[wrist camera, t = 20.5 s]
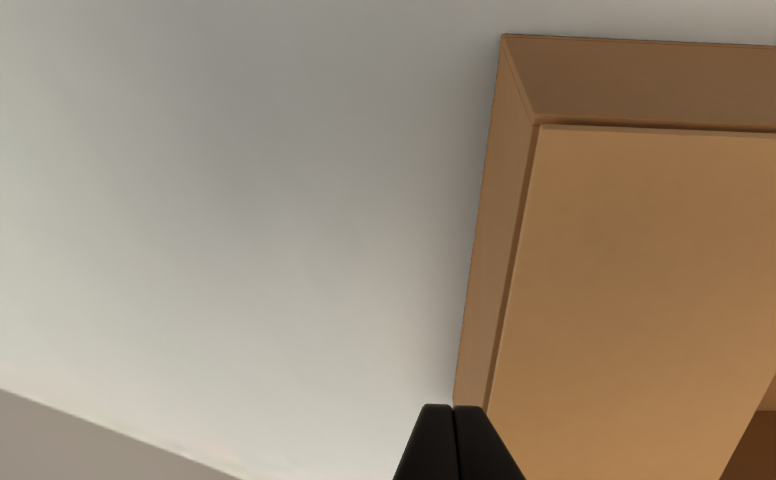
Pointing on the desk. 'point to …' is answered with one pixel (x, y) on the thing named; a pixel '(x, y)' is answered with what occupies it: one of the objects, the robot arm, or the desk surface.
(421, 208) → the desk surface
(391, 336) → the desk surface
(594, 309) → the flap
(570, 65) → the carton
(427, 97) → the desk surface
